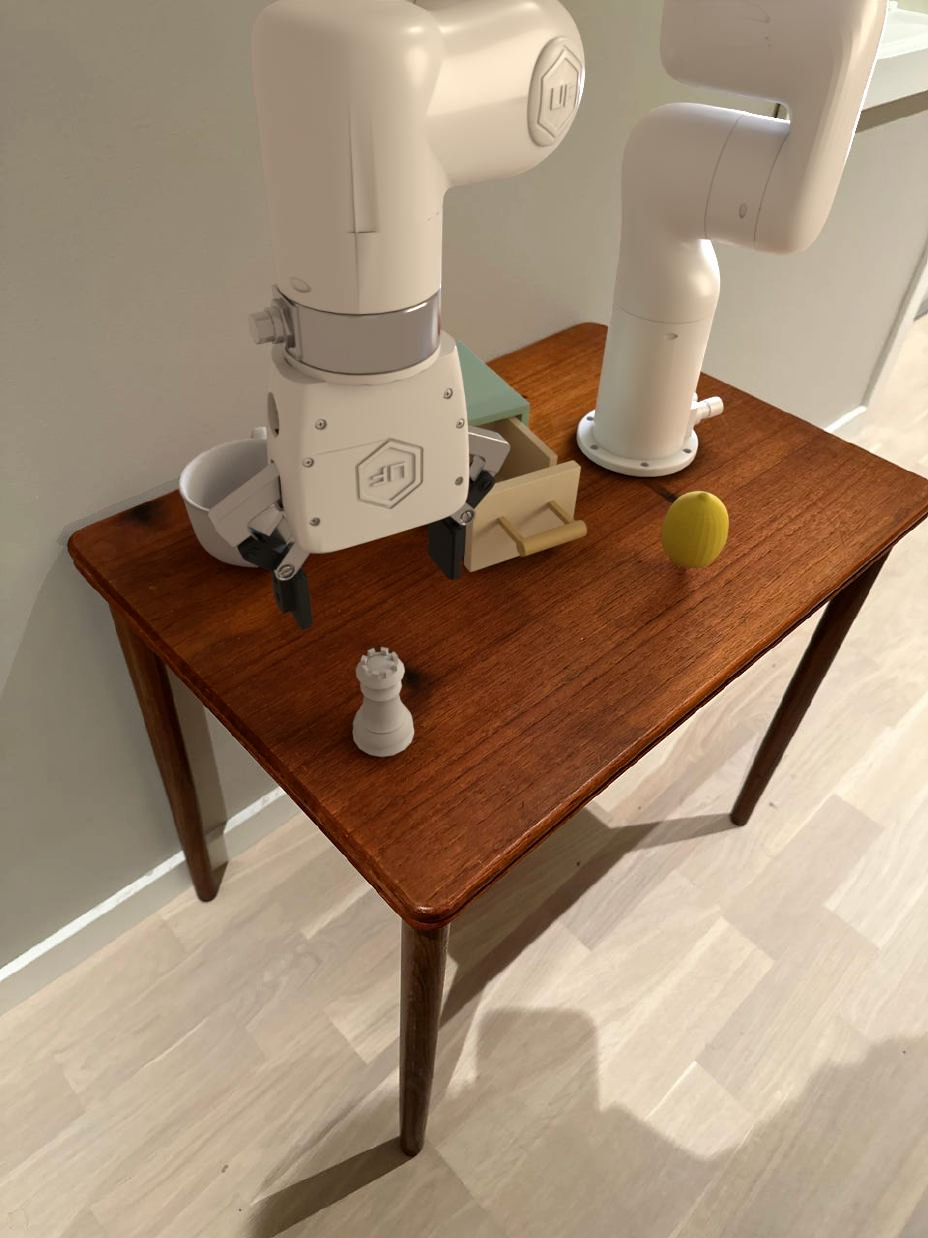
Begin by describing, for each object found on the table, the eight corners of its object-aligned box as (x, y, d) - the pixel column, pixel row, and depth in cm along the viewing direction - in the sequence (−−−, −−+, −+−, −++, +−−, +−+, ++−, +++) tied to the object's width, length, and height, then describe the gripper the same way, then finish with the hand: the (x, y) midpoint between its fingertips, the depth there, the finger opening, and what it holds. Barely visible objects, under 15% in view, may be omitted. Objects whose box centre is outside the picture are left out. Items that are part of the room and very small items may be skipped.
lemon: (642, 554, 79) (658, 481, 73) (693, 540, 80) (713, 468, 75) (675, 593, 75) (696, 519, 69) (728, 577, 77) (752, 504, 71)
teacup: (293, 594, 73) (283, 518, 68) (173, 573, 75) (153, 498, 69) (342, 498, 83) (337, 425, 78) (236, 482, 85) (222, 409, 79)
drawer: (600, 569, 76) (614, 496, 70) (497, 606, 72) (503, 532, 66) (500, 467, 86) (505, 397, 81) (406, 495, 82) (405, 423, 77)
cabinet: (522, 490, 85) (530, 404, 78) (416, 523, 81) (415, 434, 74) (456, 423, 93) (458, 339, 87) (357, 450, 89) (351, 364, 82)
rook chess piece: (370, 704, 65) (365, 629, 59) (424, 723, 64) (424, 648, 58) (341, 748, 62) (333, 673, 56) (398, 769, 61) (395, 694, 55)
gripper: (203, 394, 35) (256, 678, 47) (558, 318, 42) (526, 584, 53) (155, 319, 40) (214, 595, 52) (481, 261, 46) (468, 518, 58)
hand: (373, 589), depth 53 cm, fingers open, 9 cm apart
